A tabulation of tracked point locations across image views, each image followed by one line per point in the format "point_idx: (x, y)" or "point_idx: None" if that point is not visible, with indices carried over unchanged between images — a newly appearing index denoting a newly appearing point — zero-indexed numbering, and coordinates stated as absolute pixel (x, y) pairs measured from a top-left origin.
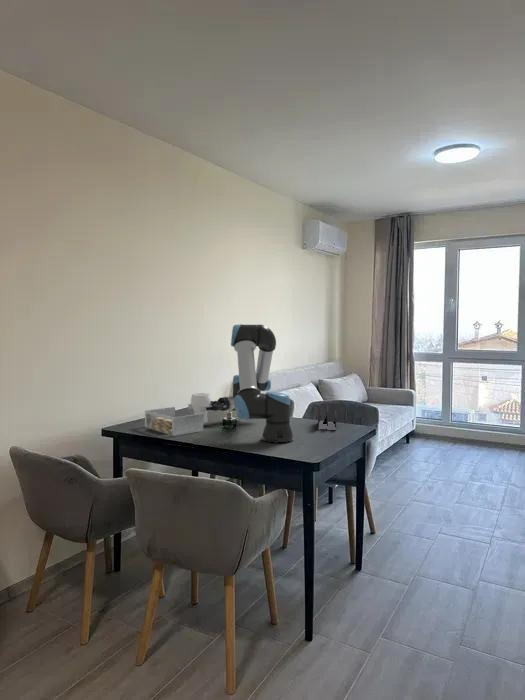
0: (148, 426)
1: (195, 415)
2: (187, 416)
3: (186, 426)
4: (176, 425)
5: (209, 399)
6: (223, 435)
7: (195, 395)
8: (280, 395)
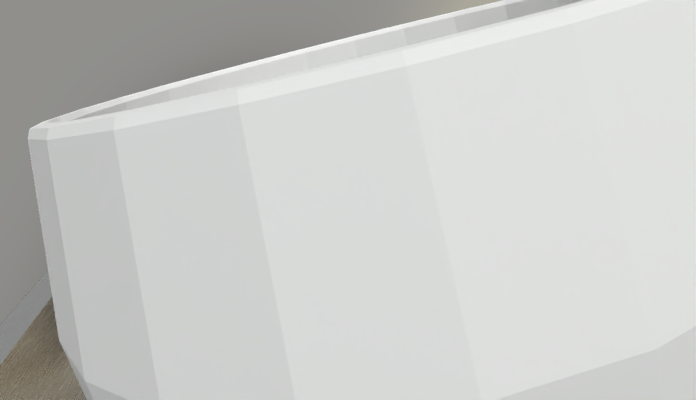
0: None
1: (4, 328)
2: (43, 277)
3: None
4: None
5: (71, 352)
6: None
7: (273, 56)
8: None
